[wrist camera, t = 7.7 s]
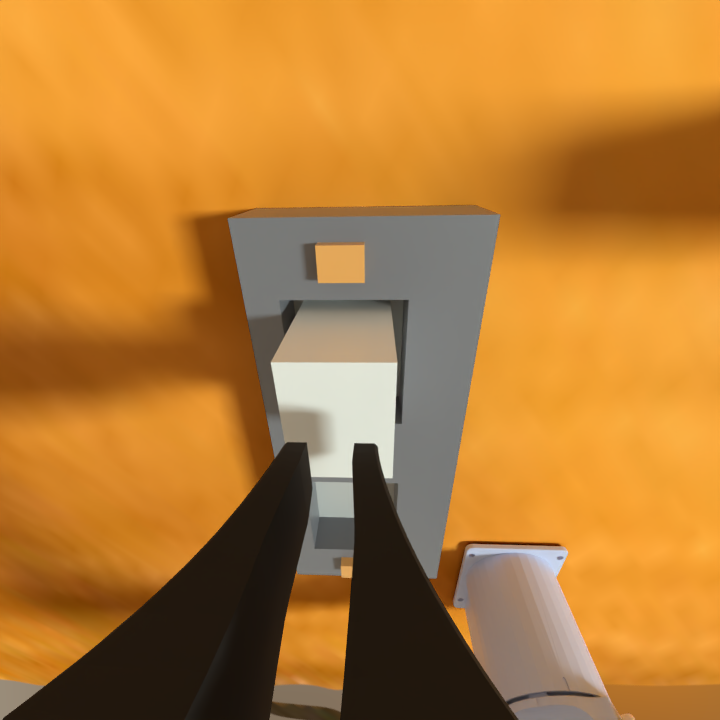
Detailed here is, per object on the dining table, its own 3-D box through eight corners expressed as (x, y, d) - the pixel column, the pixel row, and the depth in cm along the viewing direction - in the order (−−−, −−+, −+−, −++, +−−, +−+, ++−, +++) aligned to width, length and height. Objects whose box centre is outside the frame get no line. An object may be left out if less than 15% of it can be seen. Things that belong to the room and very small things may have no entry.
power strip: (429, 532, 27) (437, 587, 24) (306, 529, 27) (295, 583, 24) (475, 205, 15) (505, 216, 12) (256, 208, 16) (221, 220, 12)
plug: (387, 383, 19) (392, 478, 13) (316, 383, 19) (290, 476, 13) (389, 293, 16) (397, 362, 10) (307, 294, 16) (270, 362, 11)
